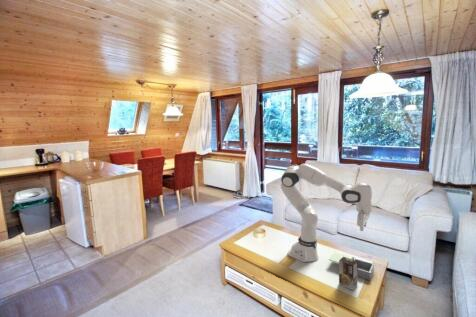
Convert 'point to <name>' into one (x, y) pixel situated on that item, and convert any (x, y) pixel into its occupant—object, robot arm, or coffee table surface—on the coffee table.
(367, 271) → the bin
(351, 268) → the coffee box
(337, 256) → the lid
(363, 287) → the coffee table surface
